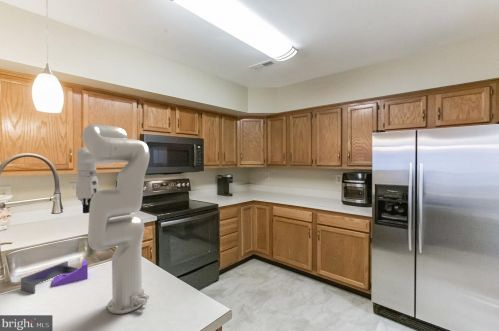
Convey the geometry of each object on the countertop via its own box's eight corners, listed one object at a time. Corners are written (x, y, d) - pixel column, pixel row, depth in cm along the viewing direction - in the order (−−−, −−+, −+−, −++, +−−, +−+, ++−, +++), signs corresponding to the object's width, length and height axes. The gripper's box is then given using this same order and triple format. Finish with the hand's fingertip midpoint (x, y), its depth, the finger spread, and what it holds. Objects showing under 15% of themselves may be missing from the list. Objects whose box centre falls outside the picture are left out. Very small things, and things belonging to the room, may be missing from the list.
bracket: (87, 274, 110) (87, 259, 110) (87, 280, 104) (87, 264, 104) (53, 281, 103) (53, 265, 103) (52, 288, 97) (51, 271, 97)
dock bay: (77, 274, 109) (77, 263, 109) (33, 293, 93) (33, 281, 93) (66, 272, 111) (66, 261, 111) (21, 290, 95) (20, 278, 95)
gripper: (105, 174, 115) (106, 212, 115) (83, 173, 120) (83, 210, 120) (90, 175, 108) (91, 215, 108) (67, 174, 113) (68, 213, 113)
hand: (87, 212), depth 114 cm, fingers closed
